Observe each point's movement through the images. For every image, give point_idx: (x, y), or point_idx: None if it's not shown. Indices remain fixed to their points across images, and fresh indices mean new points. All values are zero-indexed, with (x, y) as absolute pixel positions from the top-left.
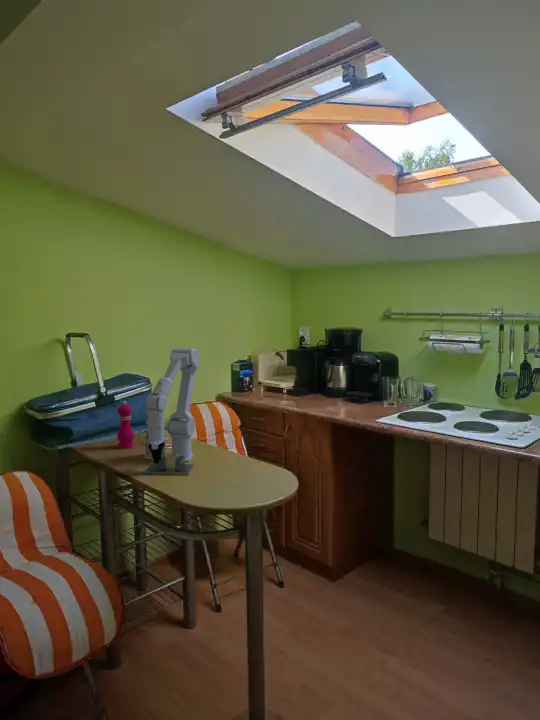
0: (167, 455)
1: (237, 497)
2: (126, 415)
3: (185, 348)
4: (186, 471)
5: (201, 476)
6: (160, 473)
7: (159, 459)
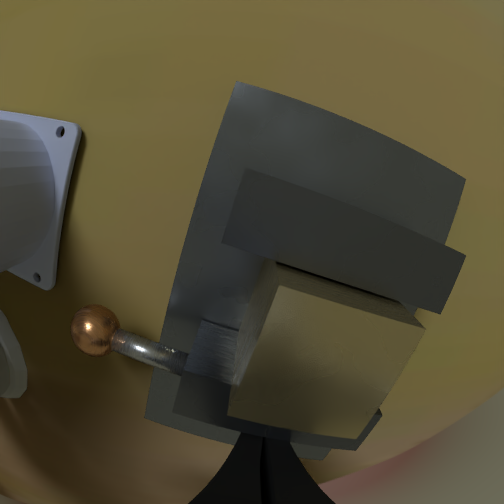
0: (343, 418)
1: None
2: None
3: None
4: (443, 185)
5: (489, 95)
6: None
7: (285, 443)
